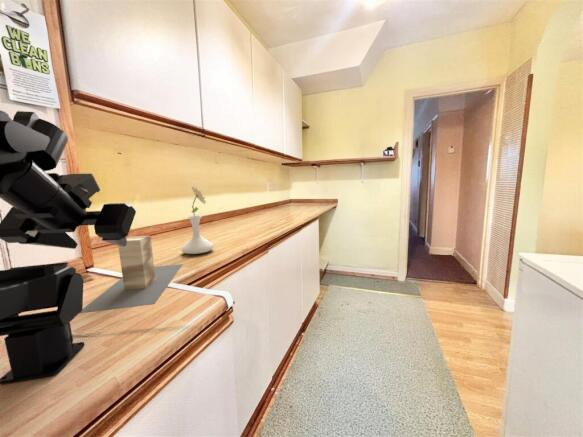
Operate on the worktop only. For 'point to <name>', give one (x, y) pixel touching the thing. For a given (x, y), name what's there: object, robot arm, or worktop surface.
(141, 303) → the rubber mat
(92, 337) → the worktop surface
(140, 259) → the birch block
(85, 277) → the shard
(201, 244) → the flower in vase
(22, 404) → the worktop surface
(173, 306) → the worktop surface
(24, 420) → the worktop surface
